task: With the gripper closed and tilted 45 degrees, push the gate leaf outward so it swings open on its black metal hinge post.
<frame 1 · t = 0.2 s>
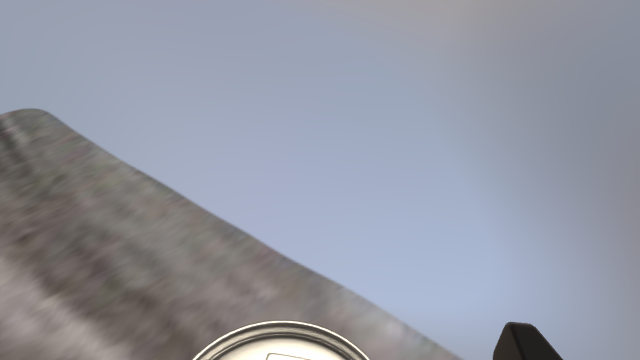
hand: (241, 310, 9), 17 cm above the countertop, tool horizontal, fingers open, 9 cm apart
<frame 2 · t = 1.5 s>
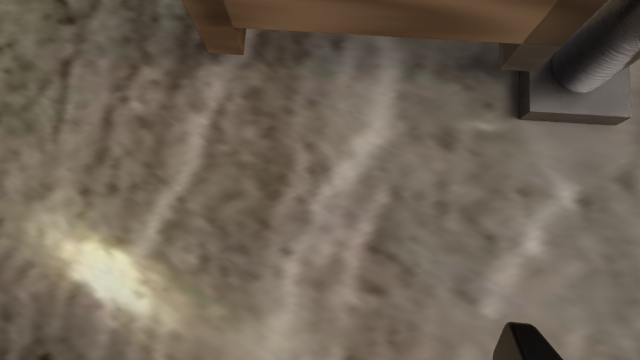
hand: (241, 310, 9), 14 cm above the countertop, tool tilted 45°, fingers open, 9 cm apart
gate post: (528, 74, 24), on the countertop
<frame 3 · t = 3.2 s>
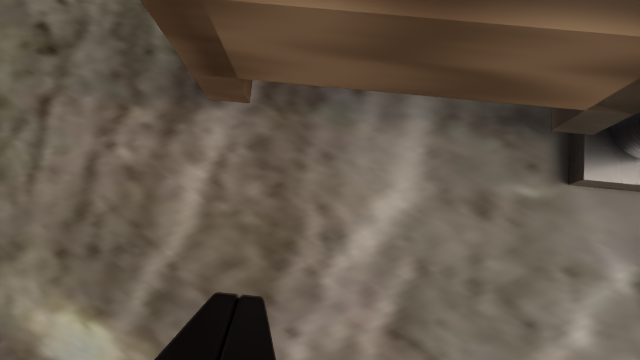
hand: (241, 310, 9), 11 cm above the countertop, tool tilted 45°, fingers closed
gate: (430, 30, 13), point 7 cm above the countertop, hinge at 0.0°
gate post: (580, 131, 21), on the countertop
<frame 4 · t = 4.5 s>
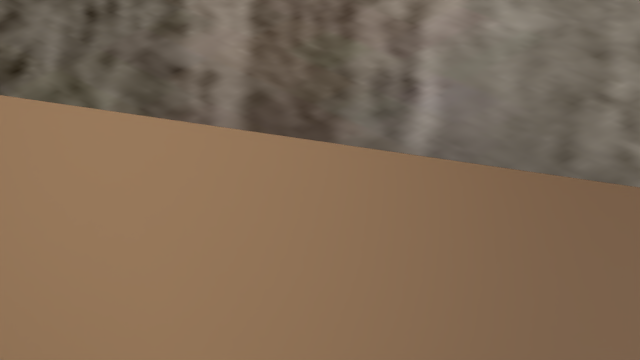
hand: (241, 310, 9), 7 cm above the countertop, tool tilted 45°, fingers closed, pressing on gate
gate: (464, 287, 8), point 7 cm above the countertop, hinge at -2.9°, touching gripper
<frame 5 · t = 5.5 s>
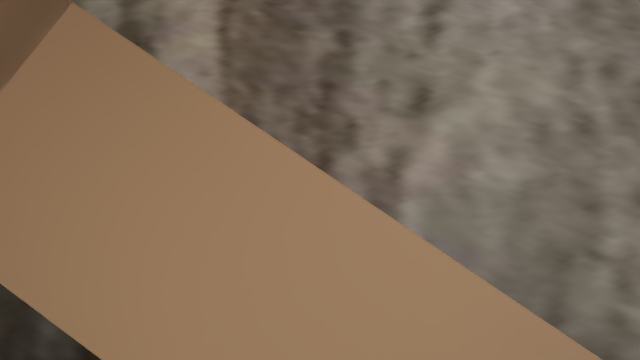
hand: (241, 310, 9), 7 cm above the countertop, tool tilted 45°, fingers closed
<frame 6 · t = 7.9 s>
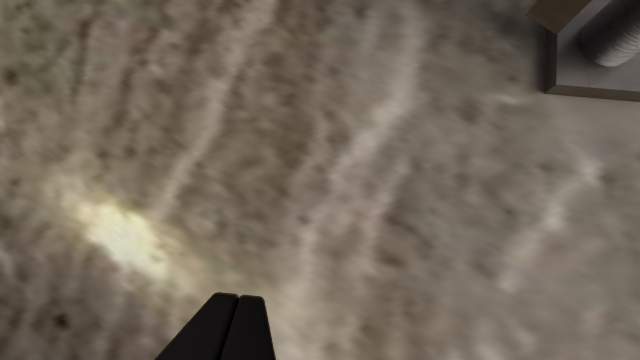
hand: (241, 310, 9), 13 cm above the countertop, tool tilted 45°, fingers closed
gate post: (554, 48, 24), on the countertop
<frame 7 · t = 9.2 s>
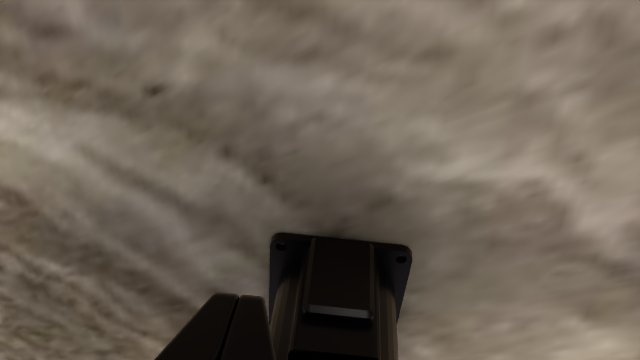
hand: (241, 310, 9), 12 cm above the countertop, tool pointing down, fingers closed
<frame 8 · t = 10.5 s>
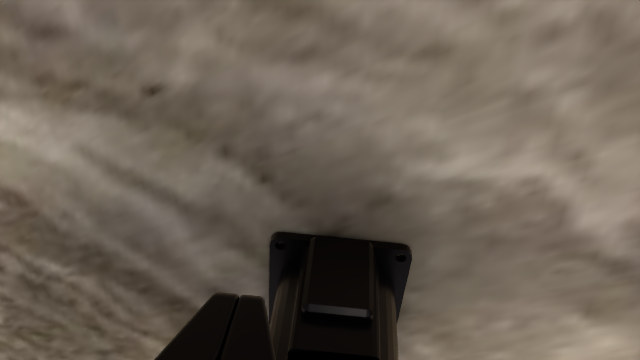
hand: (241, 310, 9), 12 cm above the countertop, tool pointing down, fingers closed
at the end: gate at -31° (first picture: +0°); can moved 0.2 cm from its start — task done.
